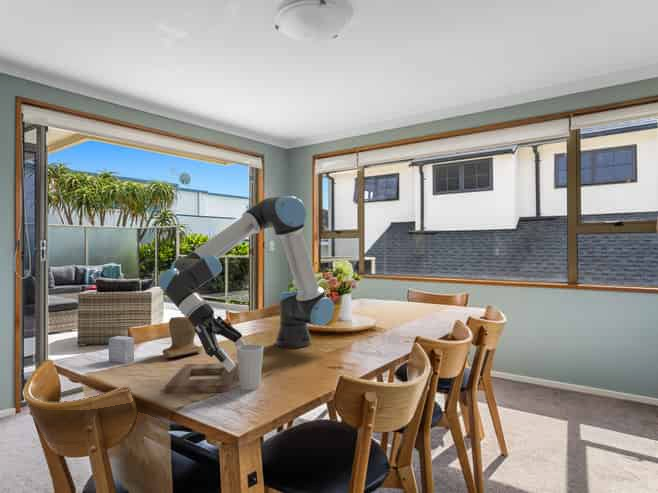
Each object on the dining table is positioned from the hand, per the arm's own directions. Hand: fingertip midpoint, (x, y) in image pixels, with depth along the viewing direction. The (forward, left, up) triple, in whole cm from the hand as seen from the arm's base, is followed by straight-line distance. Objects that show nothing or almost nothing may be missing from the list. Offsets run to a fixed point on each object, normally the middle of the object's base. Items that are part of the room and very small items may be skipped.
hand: (242, 362), depth 124 cm
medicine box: (+48, -30, -8) cm, 57 cm away
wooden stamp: (+29, -38, -8) cm, 48 cm away
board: (+13, -7, -7) cm, 16 cm away
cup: (-2, 0, -8) cm, 8 cm away
